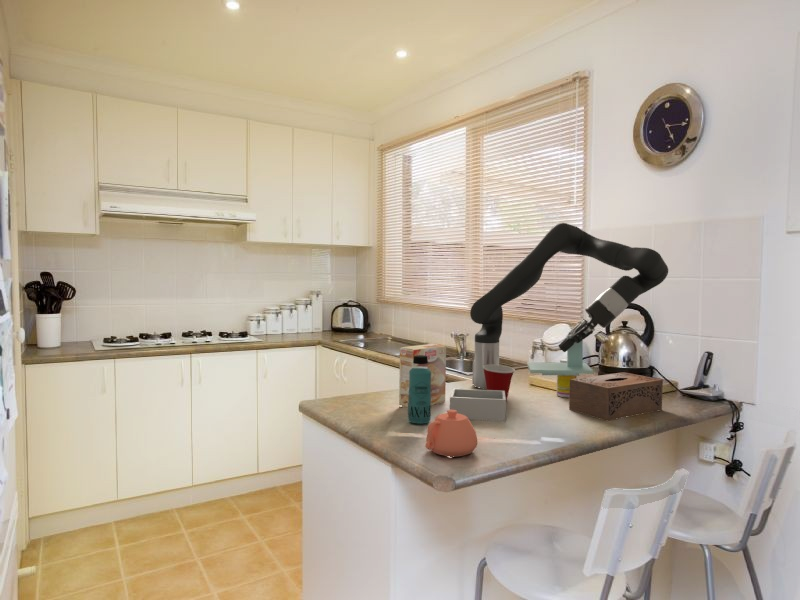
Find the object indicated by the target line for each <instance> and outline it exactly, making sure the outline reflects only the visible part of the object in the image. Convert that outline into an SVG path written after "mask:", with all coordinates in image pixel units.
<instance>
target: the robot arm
mask: <svg viewBox="0 0 800 600" xmlns="http://www.w3.org/2000/svg"><path fill="white" fill-rule="evenodd" d="M558 253H564V254H568V255H577V256H585V257H588V258H589V257H590V258H592V259H595V260H596V261H599V262H601V263H602V264H605V265H607V266H610V267H614V268H616V269H618V270H622V271H625V272H627V271H631V270H636V271H637V272H638V274H637V275H636V276H633V277H631V276H629V275H623V276H621V277H620V278H618V279H617V280H616V281H615V282H614V283H613V284H612V285H611V286H609V288H608V289H606V290H604V292H603V291H602V293H600V295H599V296H598V297H597V298H595V300H593V301H592V302H591V303H590V304H589V305H588V306H587V307H585V312H586V314H587V315H588V316H587V317H586V318H585V319H584V318H582V319H581V320H579V321H577V323H576V325H574V327H573V328H572V329H571V330H570V331H569V332H568V334H567V335H571V336H569V338H568V339H567V337H566V338H565V339H564V340H563V341H562V342H560V343H559V344H558V348H559V349H560V350H561V351H562V352H563V353H567V350H568V349H569V348H570V347H572V346H573V345H574V344H577V343H580V342H581V341H582V340H585V339H586V338H588V337H589V336H590V335H592V334H593V333H594V331H596V329H595V328H596V327H597V326H600V327H601V328H607V327H608V326H609V325H610V324H611V323H612V322H614V321H615V319H616V318H618V317H619V316H620V315H621V314H622V313H623V312H624V311H625V310H626V309H627V307H628V306H629V305H631V303H633V302H634V301H635V300H637V298H638V297H639V296H640V295H643V294H645V293H647V292H649V291H650V290H652V289H654V288H656V287H657V286H659V285H660V284H662V283H663V282H664V280H666V278H667V276H668V274H669V268H668V265H667V263H666V262H665V260H664V259H663V257H662V255H661V254H660V252H658V251H656V250H655V249H653V248H650V247H649V248H648V247H631V246H629V245H626V244H623V243H619V242H616V241H615V242H614V241H610V240H605V239H600V238H597V237H595V236H593V235H592V234H590V233H587V232H586V231H585V230H583V229H581V228H580V227H577V226H575V225H573V224H569V223H565V222H560V223H559V222H558V223H557V224H555V225H554V226H553V227H552V228H551V229H549V231H547V233H545V235H544V236H543V237H542V238H541V240H540V241H539V242H538V243H537V245H536V246H535V247H533V249H532V250H530V252H529V253H528V254H527V255H526V256H525V257H524V258H523V259H522V260H521V261H519V263H518V264H517V265H515V266H514V267H513V268H512V269H511V270H510V271H509V272H508V273H507V274H506V275H505V276H504V277H503V278H501V280H499V282H498V283H497V284H495V285H494V287H492V289H490V290H489V291H488V292H487V293H485V294H484V295H482V297H480V298H479V299H477V300H475V302H474V303H473V304H472V305H471V308H470V311H469V312H470V313H469V315H470V319H471V320H472V322H474V323H475V324H478V325H481V328H480V329H479V331H478V332H476V333H475V335H474V359H473V360H472V384H474V385H473V386H476V387H480V388H479V389H481V388H486V380H485V374H484V369H483V367H482V366H483V365H491V364H493V365H500V338H501V335H502V331H503V318H504V317H503V316H504V315H503V314H504V311H503V307H502V306H504V305H505V304H507V303H509V302H510V301H514V299H517V298H518V297H519V298H520V297H521V296H522V295H524V294H526V293H527V292H528V291H529V290H531V289H532V288H533V286H535V285H536V284H537V283H538V281H540V279H541V276H542V275H543V274H542V273H543V271H544V267H545V265H546V264H547V262H548V261H550V259H552V258H553V256H555V255H556V254H558ZM577 335H578V336H579V338H578V337H577ZM476 387H475V388H476Z"/></svg>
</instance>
